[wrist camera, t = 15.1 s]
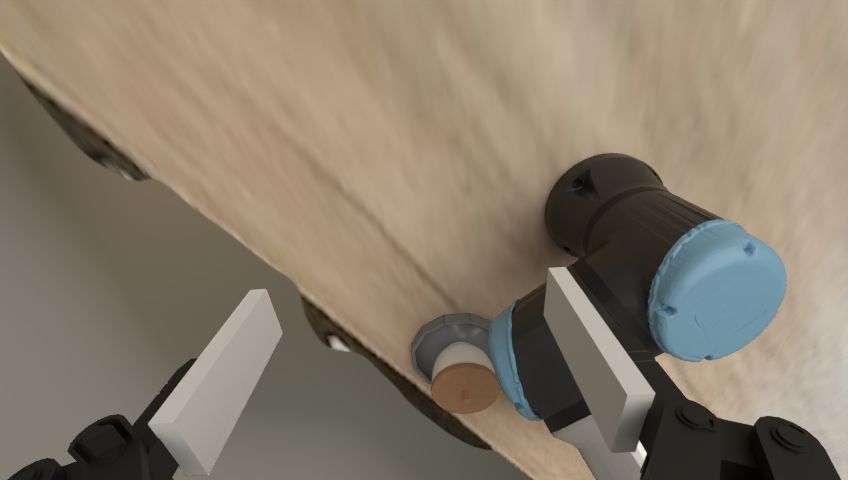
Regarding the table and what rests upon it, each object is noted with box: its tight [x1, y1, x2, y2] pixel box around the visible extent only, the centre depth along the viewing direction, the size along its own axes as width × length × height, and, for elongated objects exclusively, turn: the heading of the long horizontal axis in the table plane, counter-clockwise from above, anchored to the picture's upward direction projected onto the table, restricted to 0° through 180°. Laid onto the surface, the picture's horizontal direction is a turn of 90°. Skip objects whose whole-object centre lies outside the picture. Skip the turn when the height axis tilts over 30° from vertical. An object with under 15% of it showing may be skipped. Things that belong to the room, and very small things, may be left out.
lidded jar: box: [431, 342, 500, 414], centre depth 55 cm, size 11×11×9 cm
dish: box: [411, 313, 493, 384], centre depth 60 cm, size 16×16×2 cm
